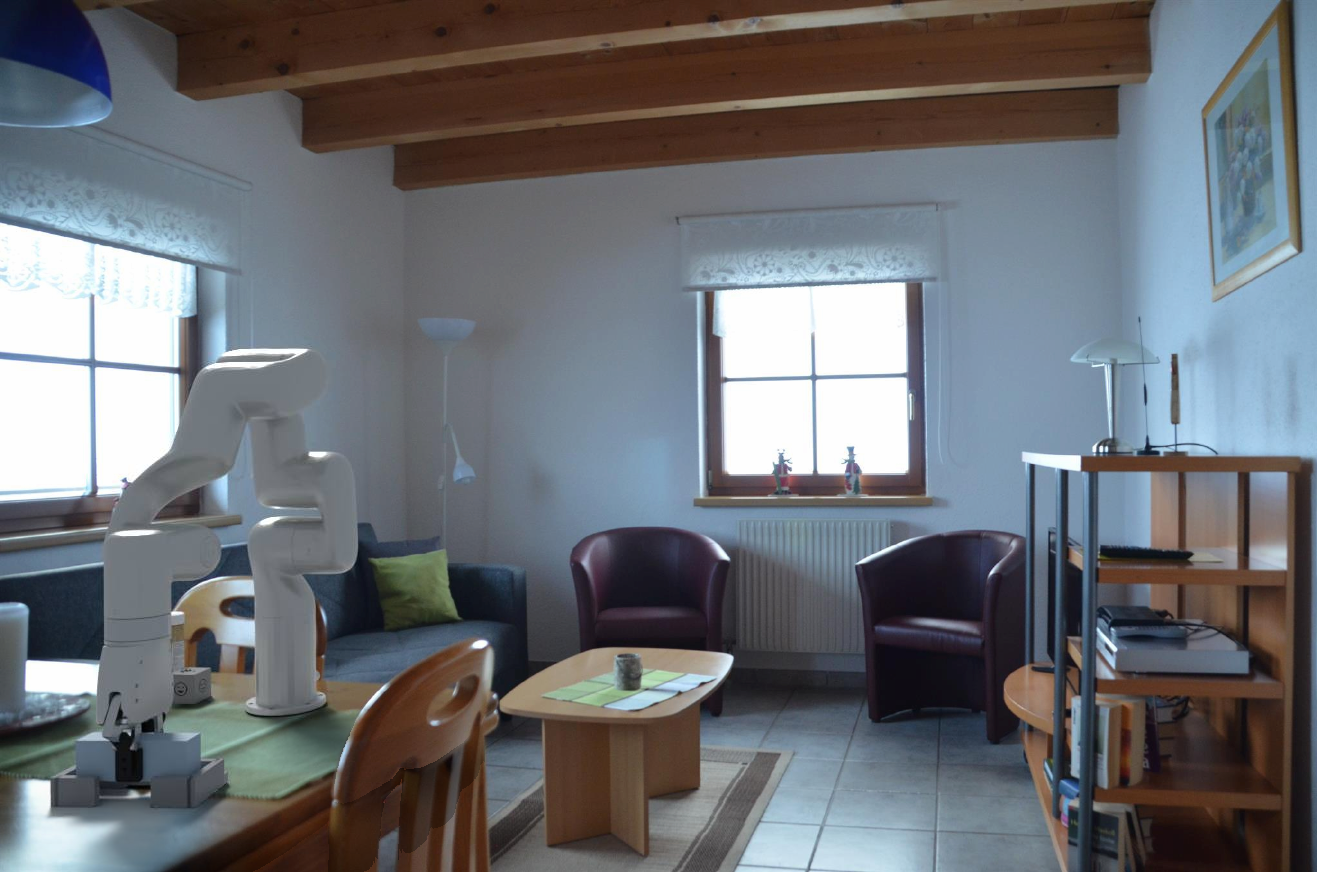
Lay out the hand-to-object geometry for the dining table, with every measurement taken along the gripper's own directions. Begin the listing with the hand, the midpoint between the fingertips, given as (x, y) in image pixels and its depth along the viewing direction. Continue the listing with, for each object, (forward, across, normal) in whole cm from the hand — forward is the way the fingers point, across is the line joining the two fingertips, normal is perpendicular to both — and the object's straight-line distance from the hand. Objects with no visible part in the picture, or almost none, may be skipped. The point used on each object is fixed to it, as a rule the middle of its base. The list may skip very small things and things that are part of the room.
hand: (138, 774), depth 125 cm
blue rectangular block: (0, 0, 0) cm, 0 cm away
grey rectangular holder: (+3, 0, 0) cm, 3 cm away
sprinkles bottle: (+3, -53, -24) cm, 59 cm away
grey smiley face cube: (+3, -46, -17) cm, 49 cm away
